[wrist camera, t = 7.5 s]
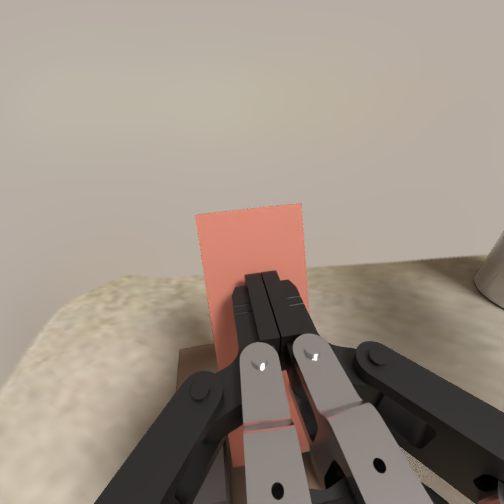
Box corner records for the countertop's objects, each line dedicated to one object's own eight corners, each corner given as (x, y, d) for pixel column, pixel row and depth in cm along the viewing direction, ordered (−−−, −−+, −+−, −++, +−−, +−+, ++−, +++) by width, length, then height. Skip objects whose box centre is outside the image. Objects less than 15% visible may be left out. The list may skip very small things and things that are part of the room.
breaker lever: (319, 461, 14) (301, 203, 12) (235, 482, 14) (195, 215, 11) (305, 426, 17) (287, 204, 14) (232, 442, 16) (199, 214, 13)
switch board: (483, 718, 11) (597, 778, 7) (150, 853, 9) (65, 1027, 5) (312, 335, 27) (319, 291, 23) (182, 358, 25) (167, 315, 22)
